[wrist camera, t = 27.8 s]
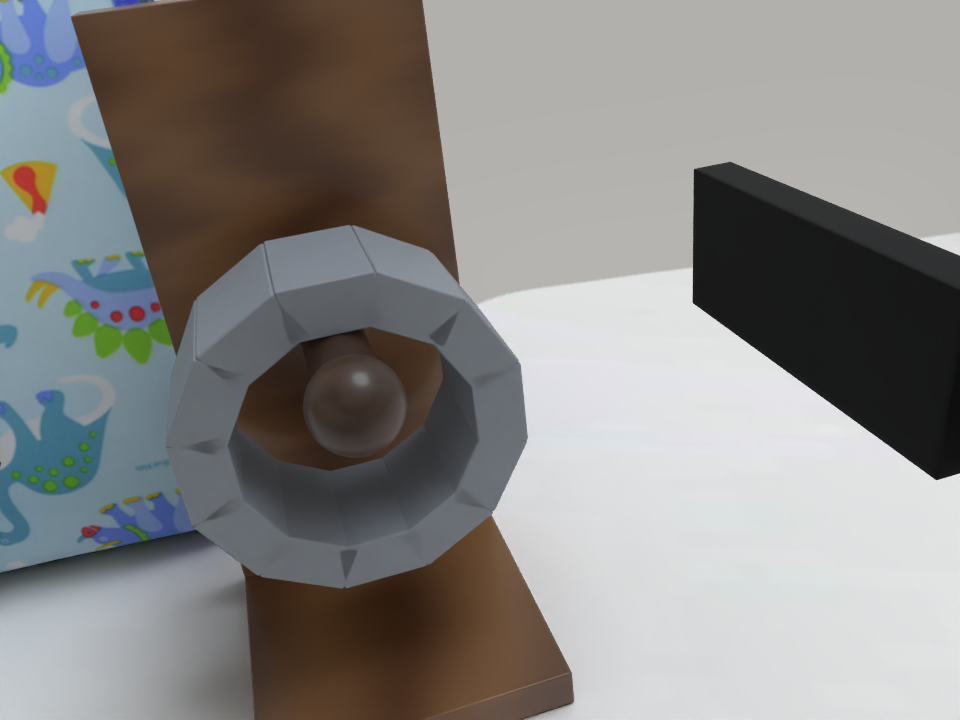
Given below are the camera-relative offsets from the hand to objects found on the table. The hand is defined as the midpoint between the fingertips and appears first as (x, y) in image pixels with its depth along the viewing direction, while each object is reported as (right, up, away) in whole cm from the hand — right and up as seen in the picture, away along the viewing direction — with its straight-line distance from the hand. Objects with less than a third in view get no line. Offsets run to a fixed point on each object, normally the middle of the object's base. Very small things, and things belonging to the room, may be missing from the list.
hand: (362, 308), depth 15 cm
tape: (-2, -7, +16) cm, 18 cm away
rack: (-1, -12, +19) cm, 23 cm away
